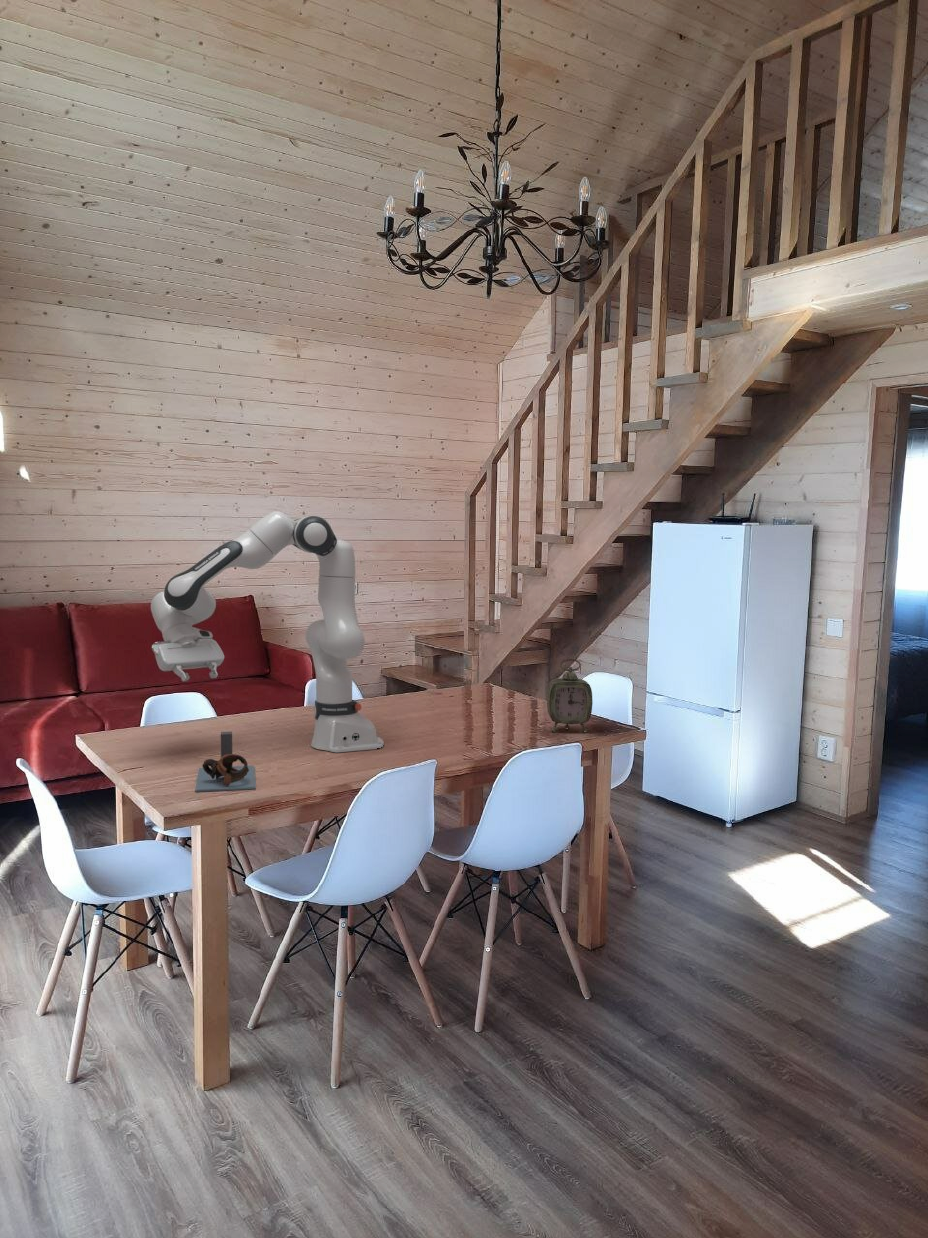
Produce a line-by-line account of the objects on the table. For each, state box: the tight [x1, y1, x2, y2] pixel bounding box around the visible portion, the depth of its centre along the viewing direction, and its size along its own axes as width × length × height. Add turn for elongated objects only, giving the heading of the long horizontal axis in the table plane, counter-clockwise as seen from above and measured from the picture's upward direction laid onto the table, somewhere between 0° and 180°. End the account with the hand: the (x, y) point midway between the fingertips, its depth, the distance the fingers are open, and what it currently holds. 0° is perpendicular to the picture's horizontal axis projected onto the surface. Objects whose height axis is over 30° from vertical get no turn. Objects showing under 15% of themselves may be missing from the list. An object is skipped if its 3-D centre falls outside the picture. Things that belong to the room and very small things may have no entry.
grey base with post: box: [194, 731, 256, 793], centre depth 241 cm, size 15×21×10 cm
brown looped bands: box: [201, 753, 249, 786], centre depth 237 cm, size 12×10×8 cm
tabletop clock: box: [546, 658, 594, 733], centre depth 305 cm, size 14×9×25 cm, turn 92°
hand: (200, 678), depth 256 cm, fingers open, 8 cm apart
